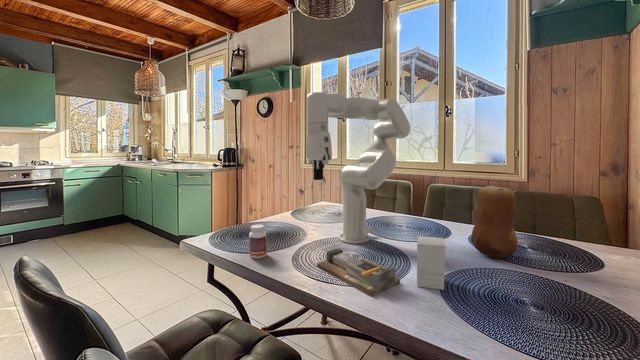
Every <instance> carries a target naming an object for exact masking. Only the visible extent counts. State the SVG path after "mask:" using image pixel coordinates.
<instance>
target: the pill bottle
mask: <svg viewBox="0 0 640 360" xmlns="http://www.w3.org/2000/svg"><path fill="white" fill-rule="evenodd" d="M248 243H249V246H248V247H249V256H250V258H252V259H263V258H265V257H267V255H268V245H267V243H268V242H267V232H266V231H265V226H264V224H253V225H251V226H250V232H249V234H248Z"/></svg>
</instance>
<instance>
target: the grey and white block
mask: <svg viewBox="0 0 640 360" xmlns="http://www.w3.org/2000/svg"><path fill="white" fill-rule="evenodd" d="M326 260H327V261H328V262H330V263H331V262H333V263H335V264H337V265H339V266H341V267H343V268H345V269H347V264H350V263H351V264H353V265H355V266H357V267H359V268H362V269H364V270H365V262H362V261H361V260H359V259H358V258H356V257H353V256H350V255H348V254H346V253H344V252H343V249H341V248H336V249H332V250H329V251H326Z"/></svg>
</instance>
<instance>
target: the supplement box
mask: <svg viewBox="0 0 640 360" xmlns="http://www.w3.org/2000/svg"><path fill="white" fill-rule="evenodd" d="M416 244H417V245H416V253H417V254H416V286H417V288H418V287H419V288H427V289H434V290H442V291H443V290H445V273H446V248H447V247H446V246H447V245H446V243H445V240H444V237H434V236H433V237H431V236H420V235H419V236H417V243H416Z"/></svg>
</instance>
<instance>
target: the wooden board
mask: <svg viewBox="0 0 640 360" xmlns="http://www.w3.org/2000/svg"><path fill="white" fill-rule="evenodd" d="M360 261H362V262H365V270H364V269H362V268H359V267H357V266H355V265H353V264H351V263H350V264H347V269H345V268H343V267H341V266H339V265H337V264H335V263H333V262H331V263H330V262H328V261H327V259H326V260H324V261H319V262H317V263H316V267H317V268H319V269H320V270H321V271H323V272H326V273H327V274H330V275H331V276H333V277H335V278H336V279H338V280H340V281H342V282H344V283H346V284H348V285H349V286H351V287H353V288H355V289H357V290H358V291H360V292H362V293H364V294H365V295H367V296H370V297H373V296H375V295H377V294H379V293H381V292H384V291H387V290H388V289H390V288H392V287H395V286H398V285H399V284H400V283H401V279H400V278H398V277H396V267H394V266H390V267H386V266H384V265H381V264H378V263H376V262H374V261H372V260H370V259H368V258H362V259H361V260H360ZM376 267H379V268H380V270H382V271H379V272H377V273H374V274H372V273H370V274H368V275H365V276H362V275H361V273H363V272H365V271H368V270H371V269H373V268H376Z"/></svg>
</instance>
